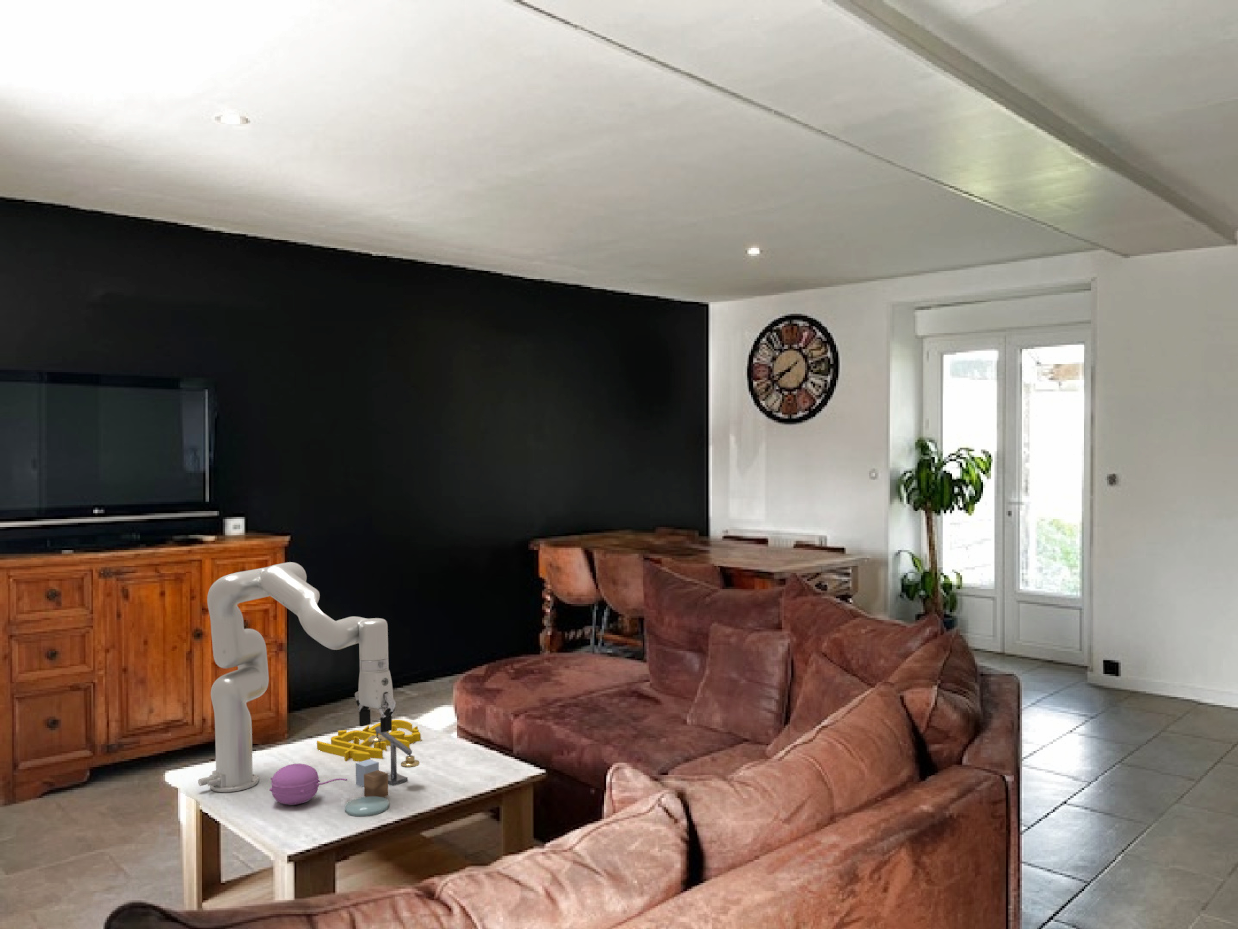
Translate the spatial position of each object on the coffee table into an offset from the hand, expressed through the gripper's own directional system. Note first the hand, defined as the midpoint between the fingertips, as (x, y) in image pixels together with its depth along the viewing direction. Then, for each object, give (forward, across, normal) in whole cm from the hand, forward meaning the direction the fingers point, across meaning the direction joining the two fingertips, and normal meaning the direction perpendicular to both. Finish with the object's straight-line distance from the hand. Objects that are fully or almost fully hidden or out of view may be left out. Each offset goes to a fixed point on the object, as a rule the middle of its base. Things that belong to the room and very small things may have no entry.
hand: (375, 728), depth 252 cm
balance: (+18, +6, -10) cm, 22 cm away
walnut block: (+18, 0, 0) cm, 18 cm away
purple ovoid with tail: (+18, +10, +15) cm, 26 cm away
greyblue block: (+18, +10, -4) cm, 21 cm away
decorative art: (+19, +41, -28) cm, 53 cm away
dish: (+18, -6, +7) cm, 20 cm away
